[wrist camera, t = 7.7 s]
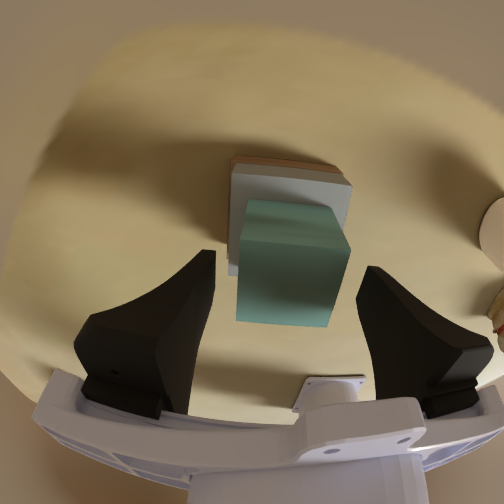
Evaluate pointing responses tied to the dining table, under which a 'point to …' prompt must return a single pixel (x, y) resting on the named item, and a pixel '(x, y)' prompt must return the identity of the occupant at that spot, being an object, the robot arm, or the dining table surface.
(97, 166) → the dining table surface
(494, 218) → the can
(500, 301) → the chocolate bunny
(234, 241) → the tower top
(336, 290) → the teal block
